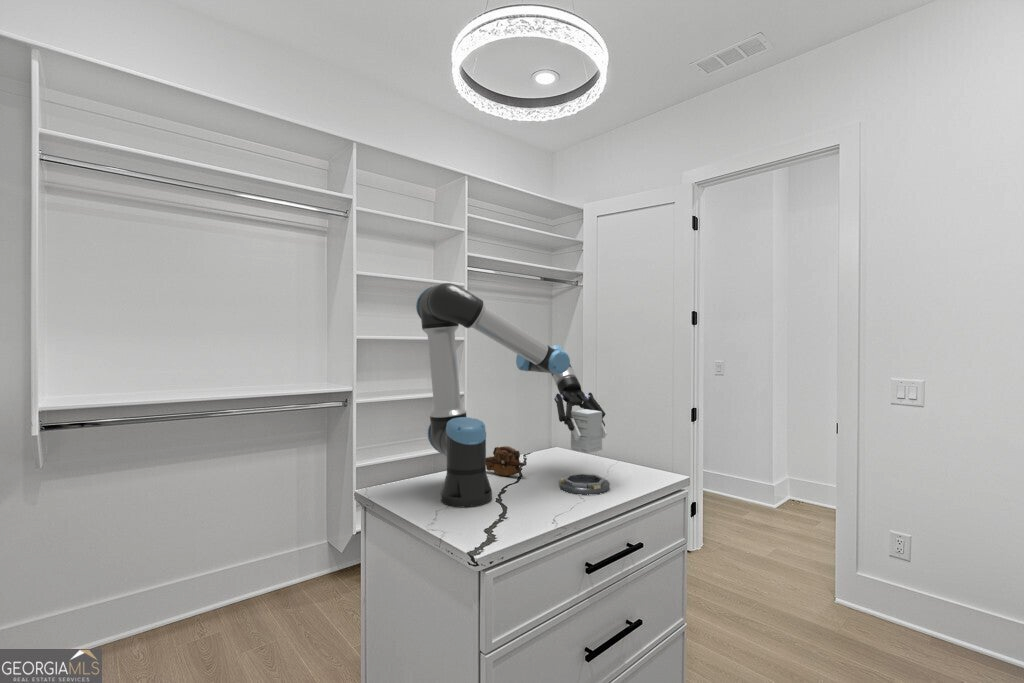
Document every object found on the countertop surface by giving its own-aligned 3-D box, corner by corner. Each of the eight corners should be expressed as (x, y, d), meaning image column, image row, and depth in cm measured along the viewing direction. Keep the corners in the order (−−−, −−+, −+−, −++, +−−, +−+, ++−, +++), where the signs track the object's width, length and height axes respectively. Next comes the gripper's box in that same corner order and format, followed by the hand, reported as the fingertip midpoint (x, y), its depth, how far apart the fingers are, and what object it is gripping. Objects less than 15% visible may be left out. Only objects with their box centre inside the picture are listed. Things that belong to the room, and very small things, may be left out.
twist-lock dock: (575, 497, 149) (575, 488, 149) (550, 483, 164) (550, 475, 164) (620, 491, 155) (619, 482, 155) (592, 478, 170) (592, 470, 170)
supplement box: (584, 446, 166) (584, 408, 166) (602, 450, 161) (603, 411, 161) (569, 449, 161) (570, 410, 161) (588, 453, 156) (588, 413, 156)
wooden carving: (480, 474, 177) (480, 445, 177) (487, 471, 181) (487, 443, 181) (521, 480, 168) (521, 450, 168) (527, 476, 172) (527, 448, 172)
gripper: (589, 388, 179) (615, 441, 165) (535, 390, 171) (557, 446, 156) (598, 375, 174) (625, 427, 160) (542, 376, 166) (565, 432, 151)
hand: (591, 436), depth 158 cm, fingers closed on supplement box, 9 cm apart
